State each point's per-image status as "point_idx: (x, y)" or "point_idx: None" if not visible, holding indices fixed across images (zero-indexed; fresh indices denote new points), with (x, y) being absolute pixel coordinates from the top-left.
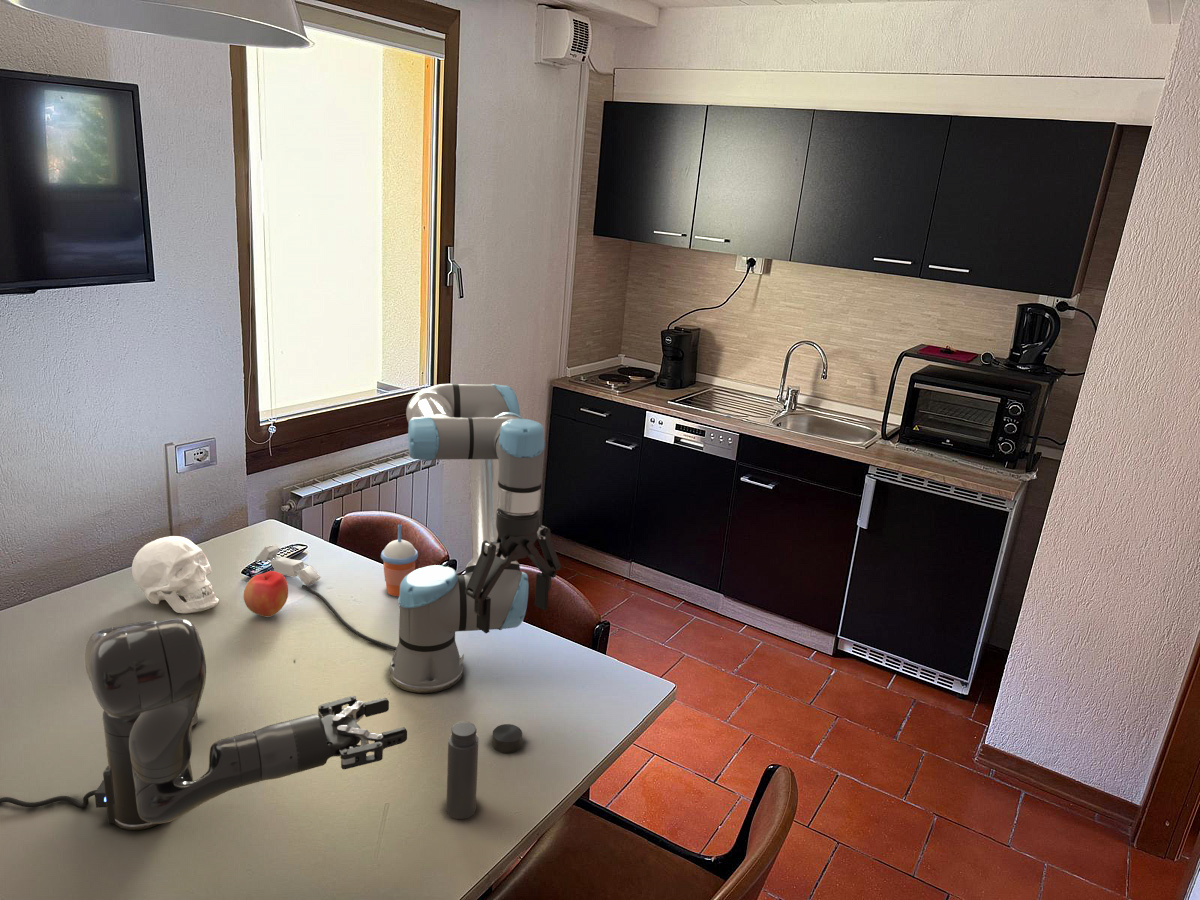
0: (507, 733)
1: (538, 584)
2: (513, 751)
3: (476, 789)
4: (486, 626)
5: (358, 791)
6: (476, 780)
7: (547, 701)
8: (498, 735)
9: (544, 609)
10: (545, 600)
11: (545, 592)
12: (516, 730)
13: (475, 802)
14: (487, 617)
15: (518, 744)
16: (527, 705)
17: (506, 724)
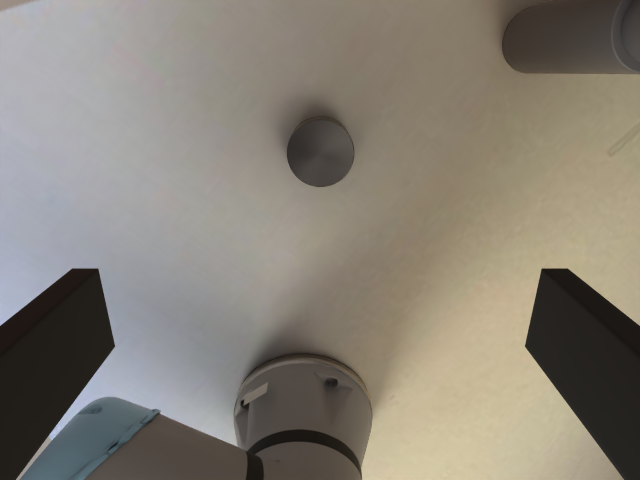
0: (321, 152)
1: (9, 450)
2: (327, 117)
3: (538, 10)
4: (591, 290)
5: (617, 214)
6: (559, 1)
7: (156, 208)
8: (342, 159)
9: (92, 272)
10: (51, 304)
11: (10, 345)
12: (298, 148)
13: (530, 9)
14: (630, 327)
15: (314, 118)
16: (202, 223)
17: (302, 179)
